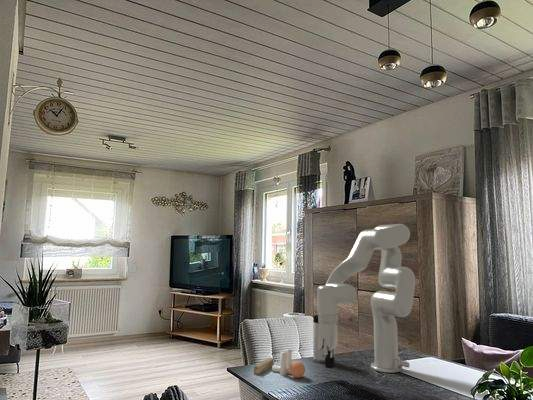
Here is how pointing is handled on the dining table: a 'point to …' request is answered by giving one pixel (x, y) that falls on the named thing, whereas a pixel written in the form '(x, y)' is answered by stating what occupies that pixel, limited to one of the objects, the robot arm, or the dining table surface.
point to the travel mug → (317, 342)
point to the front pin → (277, 369)
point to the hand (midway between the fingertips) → (330, 367)
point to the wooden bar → (263, 366)
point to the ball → (297, 369)
